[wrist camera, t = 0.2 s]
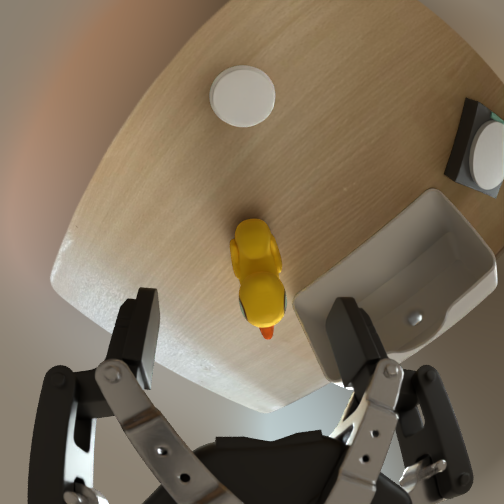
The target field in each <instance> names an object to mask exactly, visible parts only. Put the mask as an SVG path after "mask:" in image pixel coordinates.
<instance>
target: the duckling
mask: <svg viewBox="0 0 504 504" xmlns="http://www.w3.org/2000/svg"><path fill="white" fill-rule="evenodd" d="M230 252H231V259H232V266H233V270H234V273H235V275H236V277H237V278H238V279H239V281H240V285H241V286H240V290H239V303H240V308H241V311H242V313H243V315H244V317H245V319H246V320H247V321H248V322H249V323H250V324H252V325H254V326H256V327H259V328H260V331H261V333H262V335H263V337H264V338H265V339H271V338H272V336H273V330H274V325H275V324H277V323H278V322H279V321H280V320H281V319H282V318H283V316H284V314H285V311H286V305H287V299H286V293H285V289H284V286H283V284H282V282H281V281H280V279H279V273H280V272H281V270H282V260H281V256H280V252H279V249H278V246H277V243H276V240H275V238H274V236H273V235H272V234H271V232H270V229H269V227H268V225H267V224H266V223H265V222H264V221H262V220H260V219H248V220H245V221H242V222H241V223H240V224H239V225H238V226H237V228H236V231H235V239H232V240H231V241H230Z"/></svg>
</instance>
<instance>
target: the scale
mask: <svg viewBox="0 0 504 504" xmlns="http://www.w3.org/2000/svg"><path fill="white" fill-rule="evenodd" d="M444 174H445V175H446V176H447V177H449V178H450V179H452V180H453V181H455V182H457V183H460V184H462V185H465V186H467V187H470V188H472V189H475V190H477V191H480V192H482V193H485V194H487V195H489V196H492V197H494V198H496V197H497V194H498V192H499V189H500V187H501V184H502V181H503V179H504V121H503V120H502V119H501V118H500V117H498V116H497V115H496V114H495V113H493V112H492V111H491V110H489V109H488V108H487V107H485V106H484V105H483V104H481V103H480V102H478V101H475V100H472V99H469V98H466V100H465V105H464V109H463V113H462V117H461V121H460V125H459V128H458V132H457V136H456V139H455V142H454V146H453V149H452V152H451V155H450V158H449V161H448V164H447V167H446V170H445V173H444Z"/></svg>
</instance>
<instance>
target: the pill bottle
mask: <svg viewBox="0 0 504 504" xmlns="http://www.w3.org/2000/svg"><path fill="white" fill-rule="evenodd" d="M209 99H210V104H211V107H212V109H213V111H214V112H215V114H216V115H217V116H218V117H219V118H220V119H221V120H223V121H224V122H226V123H228V124H230V125H233V126H237V127H250V126H254V125H256V124H259V123H260V122H262V121H263V120H265V119H266V118H267V117H268V116H269V114H270V113H271V111H272V109H273V107H274V103H275V88H274V85H273V83H272V81H271V79H270V78H269V76H268V75H267V74H265V73H264V72H263V71H262V70H260V69H258V68H256V67H253V66H248V65H238V66H233V67H230V68H228V69H226V70H224V71H222V72H221V73H220V74H219V75H218V76H217V77H216V78H215V79H214V81H213V83H212V85H211V88H210V93H209Z"/></svg>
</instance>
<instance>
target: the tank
mask: <svg viewBox="0 0 504 504" xmlns="http://www.w3.org/2000/svg"><path fill="white" fill-rule="evenodd" d="M496 286H497V269H496V259H495V255H494V253H493V252H492V250H491V249H490V248H489V246H488V245H487V244H486V243H485V241H484V240H483V239H482V237H481V236H480V235H479V234H478V232H477V231H476V230H475V229H474V228H473V226H472V225H471V224H470V223H469V222H468V221H467V219H466V218H465V217H464V216H463V215H462V214H461V212H460V211H459V210H458V209H457V208H456V207H455V206H454V205H453V204H452V203H451V201H450V200H449V199H448V198H447V197H446V196H445V195H444V194H443V193H442V192H441V191H440V190H438V189H434V188H432V189H428V190H426V191H425V192H424V193H423V194H422V195H421V196H419V197H418V198H417V199H416V200H415V201H414V202H412V203H411V204H410V205H409V206H408V207H407V208H405V209H404V210H403V211H402V212H401V213H400V214H398V215H397V216H396V217H395V218H394V219H392V220H391V221H390V222H389V223H388V224H386V225H385V226H384V227H383V228H382V229H380V230H379V231H378V232H377V233H375V234H374V235H373V236H372V237H371V238H369V239H368V240H367V241H366V242H364V243H363V244H362V245H361V246H359V247H358V248H357V249H355V250H354V251H353V252H352V253H350V254H349V255H348V256H347V257H345V258H344V259H343V260H341V261H340V262H339V263H338V264H336V265H335V266H334V267H332V268H331V269H330V270H328V271H327V272H326V273H324V274H323V275H322V276H320V277H319V278H318V279H316V280H315V281H314V282H312V283H311V284H310V285H308V286H307V287H306V288H304V289H303V290H301V291H300V292H299V293H297V294H296V295H295V297H294V299H293V303H292V305H293V309H294V311H295V314H296V316H297V318H298V320H299V322H300V324H301V326H302V328H303V331H304V333H305V335H306V337H307V339H308V341H309V343H310V346H311V348H312V350H313V352H314V354H315V356H316V358H317V361H318V363H319V365H320V367H321V369H322V371H323V374H324V376H325V377H326V379H327V380H328V381H330V382H332V383H335V384H337V385H340V386H342V387H344V386H343V382H342V379H341V376H340V373H339V369H338V366H337V363H336V360H335V357H334V354H333V351H332V348H331V345H330V342H329V339H328V335H327V332H326V328H325V323H326V319H327V316H328V314H329V312H330V310H331V308H332V306H333V304H334V301H335V299H336V298H337V297H353V298H354V299H355V301H356V303H357V305H358V307H359V308H363V309H364V311H365V312H366V313H367V314H368V315H369V316H370V318H371V320H372V323H373V326H374V327H375V329H376V333H378V335H379V338H380V340H381V342H382V344H383V346H384V349H385V351H386V353H387V356H388V358H390V359H393V360H395V361H397V362H398V363H401V362H402V361H404V360H405V359H407V358H408V357H410V356H411V355H413V354H414V353H416V352H417V351H419V350H420V349H421V348H423V347H425V346H426V345H427V344H429V343H430V342H431V341H433V340H434V339H435V338H437V337H438V336H440V335H441V334H442V333H444V332H445V331H446V330H447V329H449V328H450V327H451V326H453V325H454V324H455V323H456V322H457V321H459V320H460V319H461V318H463V317H464V316H465V315H466V314H467V313H469V312H470V311H471V310H472V309H473V308H474V307H476V306H477V305H478V304H479V303H480V302H481V301H482V300H483V299H485V298H486V297H487V296H488V295H489V294H490V293H491V292H492V291H493V290H494V289H495V288H496ZM420 320H421V321H420ZM418 321H420V322H419V323H418V324H417V325H415V324H416V323H417V322H418ZM347 389H350V390H354V389H353V387H348V388H347Z"/></svg>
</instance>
